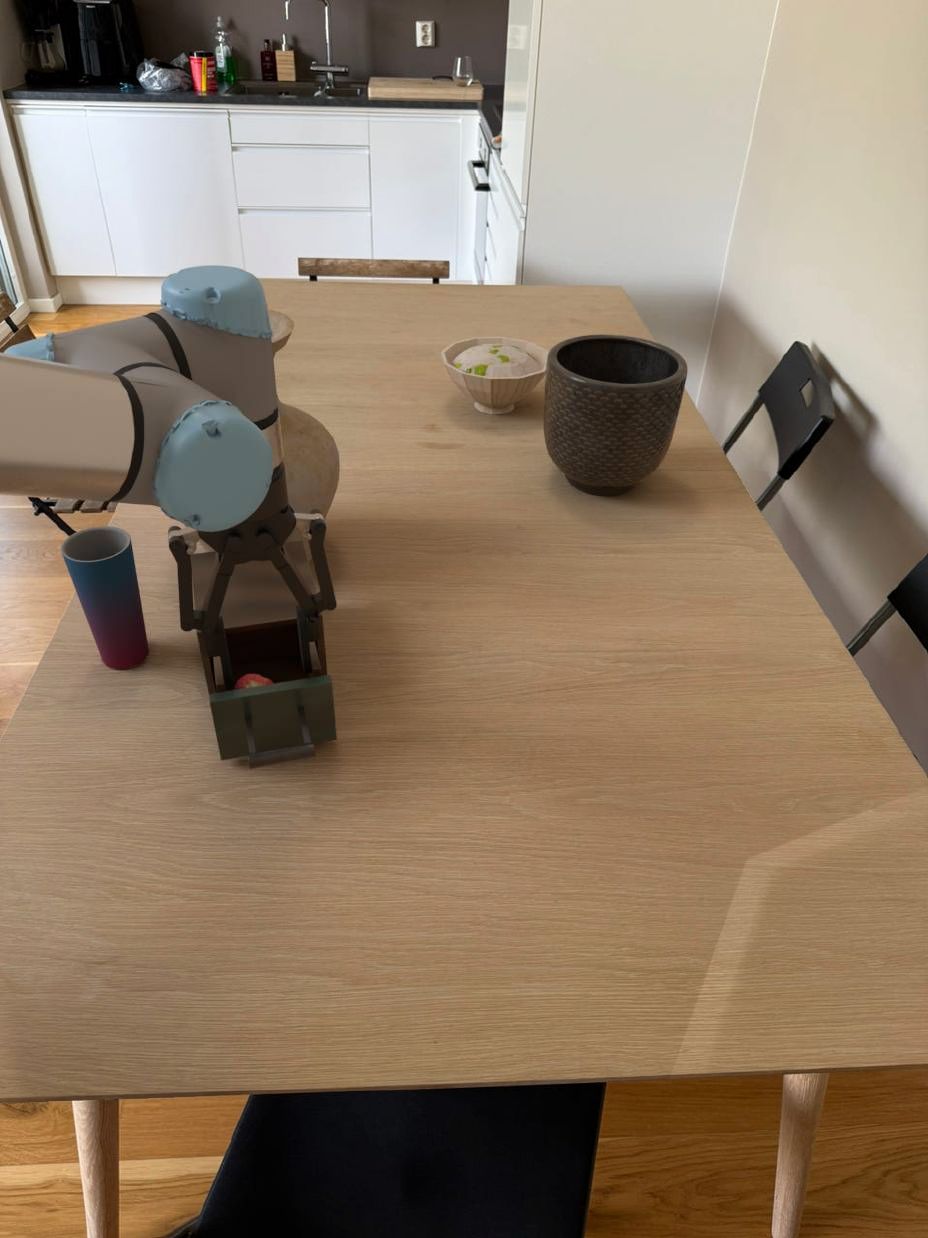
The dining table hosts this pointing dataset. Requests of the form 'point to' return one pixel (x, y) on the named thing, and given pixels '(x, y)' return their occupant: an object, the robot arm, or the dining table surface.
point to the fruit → (251, 681)
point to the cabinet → (253, 600)
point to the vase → (303, 450)
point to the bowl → (495, 370)
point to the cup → (108, 593)
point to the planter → (611, 409)
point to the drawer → (272, 700)
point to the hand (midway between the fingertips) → (267, 670)
